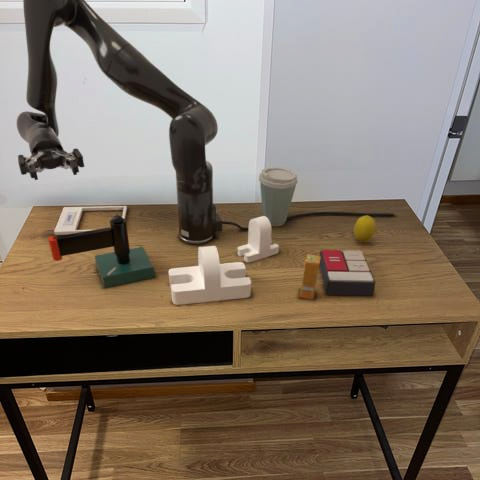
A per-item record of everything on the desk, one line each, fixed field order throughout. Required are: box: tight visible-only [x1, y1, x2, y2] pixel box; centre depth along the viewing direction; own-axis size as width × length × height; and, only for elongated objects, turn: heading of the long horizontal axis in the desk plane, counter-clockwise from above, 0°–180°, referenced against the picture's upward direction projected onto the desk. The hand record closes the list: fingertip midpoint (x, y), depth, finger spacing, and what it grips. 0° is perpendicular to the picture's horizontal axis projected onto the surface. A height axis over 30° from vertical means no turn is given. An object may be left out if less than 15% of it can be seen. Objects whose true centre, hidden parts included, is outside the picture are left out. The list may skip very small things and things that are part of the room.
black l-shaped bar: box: [47, 214, 131, 262], centre depth 113 cm, size 17×4×10 cm, turn 113°
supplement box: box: [299, 253, 321, 300], centre depth 113 cm, size 3×3×10 cm
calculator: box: [318, 249, 376, 297], centre depth 120 cm, size 11×4×15 cm
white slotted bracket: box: [168, 245, 252, 306], centre depth 113 cm, size 10×18×11 cm, turn 102°
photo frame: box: [53, 205, 128, 236], centre depth 140 cm, size 15×1×18 cm
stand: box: [94, 246, 155, 289], centre depth 120 cm, size 12×10×5 cm
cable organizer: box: [236, 215, 280, 264], centre depth 126 cm, size 5×10×10 cm, turn 122°
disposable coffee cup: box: [258, 166, 298, 227], centre depth 139 cm, size 11×11×15 cm
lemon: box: [353, 215, 377, 243], centre depth 133 cm, size 6×6×8 cm
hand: (55, 173), depth 112 cm, fingers open, 8 cm apart
